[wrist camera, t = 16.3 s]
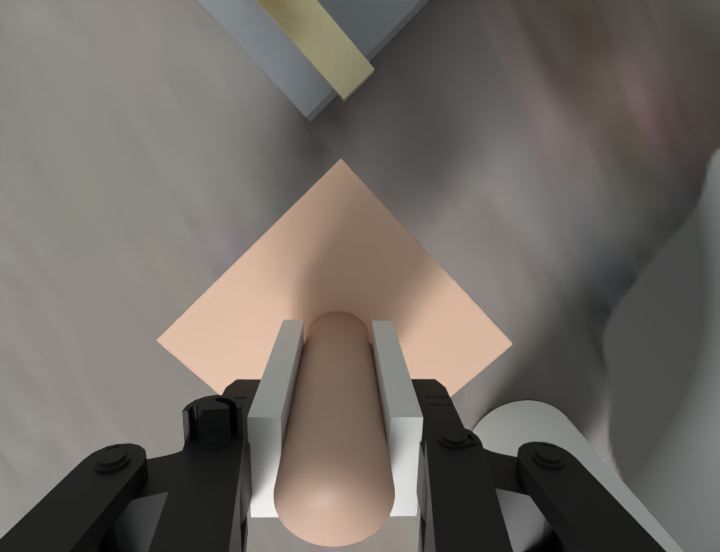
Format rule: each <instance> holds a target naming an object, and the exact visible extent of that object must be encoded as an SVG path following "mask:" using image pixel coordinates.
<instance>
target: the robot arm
mask: <svg viewBox="0 0 720 552" xmlns="http://www.w3.org/2000/svg"><path fill="white" fill-rule="evenodd" d="M371 346H372V352H373V359H374V365H375V371H376V377H377V383H378V389H379V396H380V402H381V408H382V414H383V420H384V427H385V433H386V439H387V445H388V451H389V457H390V463H391V469H392V475H393V481H394V487H395V500H394V505H393V509H392V511H391V513H390V516H417V501H418V502H419V507H420V511H421V514H420V529H419V543H418V552H666V551H665V550H664V549H663V548H662V546H661V545H660V544H659V543H658V542H657V541H656V540H655V539H654V538H653V537H652V536H651V535H650V534H649V533H648V532H647V531H646V530H645V529H644V528H643V527H642V526H641V525H640V524H639V523H638V522H637V521H636V519H635V518H634V517H633V516H632V515H631V514H630V513H629V512H628V511H627V510H626V509H625V508H624V507H623V506H622V505H621V504H620V503H619V502H618V501H617V500H616V499H615V498H614V497H613V496H612V495H611V494H610V493H609V491H608V490H607V489H606V488H605V487H604V486H603V485H602V484H601V483H600V482H599V481H598V480H597V479H596V478H595V477H594V476H593V475H592V474H591V473H590V472H589V471H588V470H587V469H586V468H585V467H584V466H583V464H582V463H581V462H580V461H579V460H578V459H577V458H576V457H575V456H573V455H572V454H571V453H570V452H568V451H567V450H565V449H563V448H561V447H559V446H557V445H555V444H551V443H547V442H535V441H533V442H528V443H524V444H523V445H521V446H520V447H519V448H518V453H517V457H515V456H510V455H505V454H500V453H496V452H492V451H489V450H487V449H485V448H483V445H482V442H481V440H480V439H479V437H478V436H477V435H476V434H474V433H473V432H472V431H470V430H468V429H465V428H464V426H463V424H462V422H461V420H460V418H459V415H458V413H457V411H456V409H455V407H454V406H453V402H452V400H451V398H450V396H449V394H448V391H447V389H446V387H445V386H443V385H442V384H441V383H440V382H438V381H437V380H436V379H411V378H410V375H409V371H408V368H407V365H406V362H405V359H404V356H403V353H402V349H401V346H400V343H399V340H398V337H397V334H396V331H395V327H394V324H393V321H374V320H372V338H371ZM303 347H304V320H284V319H283V322H282V324H281V327H280V330H279V332H278V335H277V338H276V341H275V343H274V346H273V349H272V351H271V354H270V357H269V359H268V362H267V365H266V368H265V370H264V373H263V376H262V378H261V379H236V380H235V381H234V382H232V383H231V384H230V385H228V386H227V387H226V388H225V390H224V392H223V394H222V395H213V396H206V397H203V398H200V399H197V400H195V401H193V402H191V403H190V404H188V405H187V406H186V407H185V408H184V410H183V411H182V414H183V427H184V440H185V444H184V447H183V450H182V451H180V452H177V453H174V454H171V455H167V456H162V457H157V458H152V459H147V458H146V452H145V449H143V448H142V447H141V446H139V445H135V444H130V443H129V444H115V445H111V446H107V447H105V448H103V449H100V450H98V451H96V452H94V453H92V454H91V455H89V456H88V457H87V458H85V459H84V460H83V461H82V462H81V463H80V464H78V465H77V466H76V467H75V468H74V469H73V470H72V471H71V472H70V473H69V474H68V475H67V476H66V477H65V478H64V479H63V480H62V481H61V482H60V483H59V484H58V485H57V486H55V487H54V488H53V489H52V490H51V491H50V492H49V493H48V494H47V495H46V496H45V497H44V498H43V499H42V500H41V501H40V502H39V503H38V504H37V505H36V506H35V507H34V508H32V509H31V510H30V511H29V512H28V513H27V514H26V515H25V516H24V517H23V518H22V519H21V520H20V521H19V522H18V523H17V524H16V525H15V526H14V527H13V528H12V529H11V530H10V531H8V532H7V533H6V534H5V535H4V536H3V537H2V538H1V539H0V552H246V546H247V535H248V526H247V512H248V509H249V505H250V501H251V517H278V514H277V512H276V509H275V505H274V498H273V495H274V486H275V482H276V477H277V472H278V467H279V462H280V458H281V453H282V448H283V444H284V439H285V434H286V429H287V424H288V419H289V414H290V410H291V405H292V400H293V395H294V390H295V385H296V381H297V376H298V371H299V366H300V361H301V356H302V352H303Z"/></svg>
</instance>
